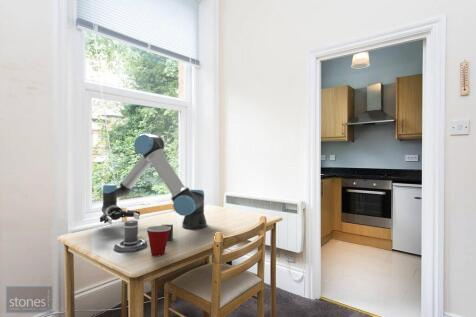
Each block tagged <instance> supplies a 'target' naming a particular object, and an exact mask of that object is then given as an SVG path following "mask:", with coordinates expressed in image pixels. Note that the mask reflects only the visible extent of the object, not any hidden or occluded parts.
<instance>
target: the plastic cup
mask: <svg viewBox="0 0 476 317" xmlns="http://www.w3.org/2000/svg"><path fill="white" fill-rule="evenodd" d="M145 229H146V232H147V237H148V241H149V242H148V243H149V248H150V253H151V256H153V257H159V255H160V256H163V255H165V254H164V253H165V252H166V247H167V244H168V241H167V239H168V234H169V231H170V229H171V227H168V226H161V225H151V226H148V227H146V228H145Z"/></svg>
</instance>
